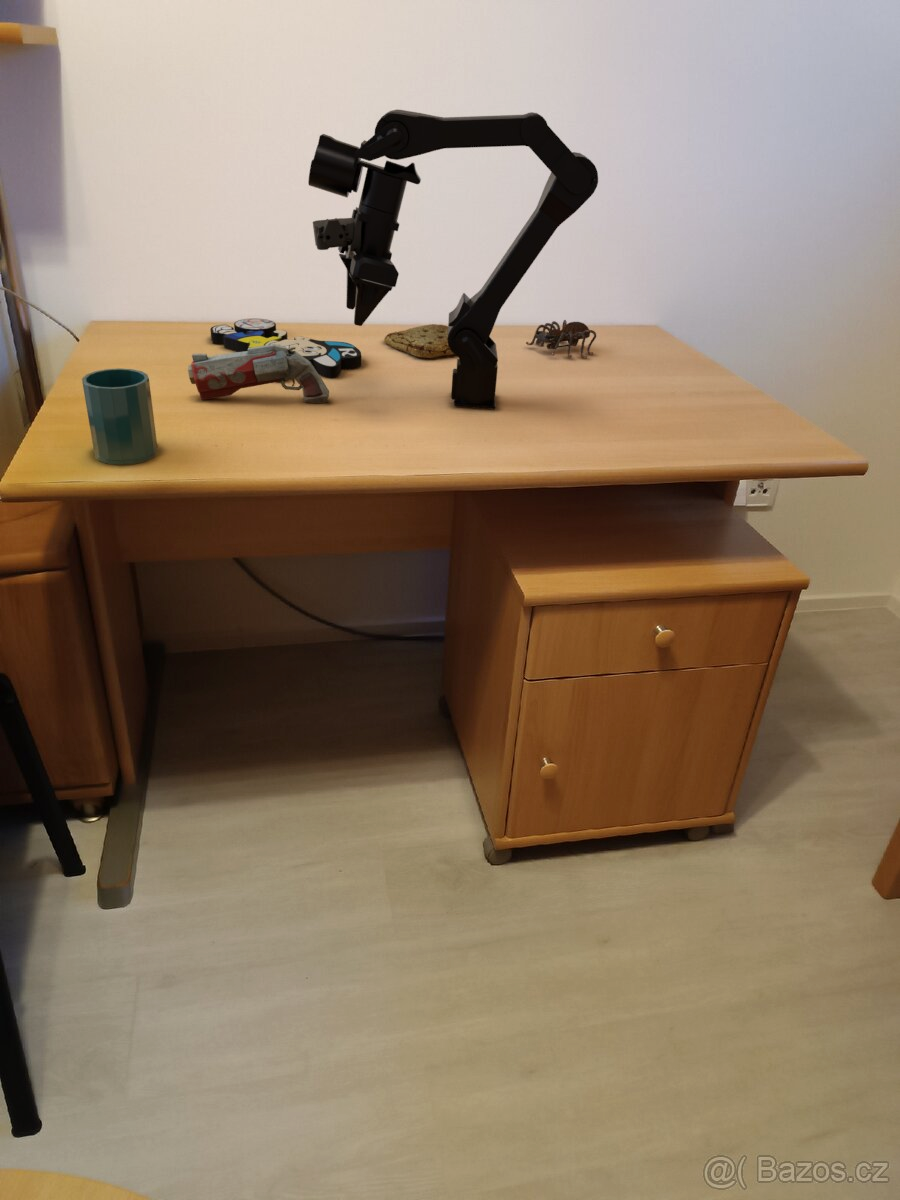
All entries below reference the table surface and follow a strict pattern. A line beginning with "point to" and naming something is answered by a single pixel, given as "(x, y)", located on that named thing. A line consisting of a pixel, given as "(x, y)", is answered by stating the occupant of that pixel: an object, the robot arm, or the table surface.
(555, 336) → the toy
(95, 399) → the pen holder
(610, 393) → the table surface
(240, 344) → the toy
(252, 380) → the toy gun
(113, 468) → the table surface
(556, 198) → the robot arm
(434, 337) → the pastry
